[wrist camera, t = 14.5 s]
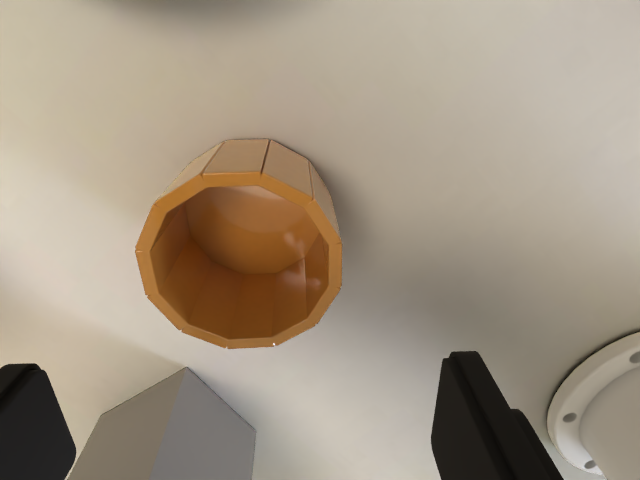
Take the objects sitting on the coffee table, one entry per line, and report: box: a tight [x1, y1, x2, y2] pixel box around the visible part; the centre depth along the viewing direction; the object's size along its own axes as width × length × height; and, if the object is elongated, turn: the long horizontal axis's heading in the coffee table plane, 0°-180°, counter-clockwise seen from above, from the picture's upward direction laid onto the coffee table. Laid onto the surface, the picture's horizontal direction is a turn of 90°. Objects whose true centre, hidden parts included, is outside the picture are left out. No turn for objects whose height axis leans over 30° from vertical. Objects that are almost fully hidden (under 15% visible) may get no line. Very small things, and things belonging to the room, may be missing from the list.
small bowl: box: [135, 139, 342, 349], centre depth 17 cm, size 7×7×6 cm
